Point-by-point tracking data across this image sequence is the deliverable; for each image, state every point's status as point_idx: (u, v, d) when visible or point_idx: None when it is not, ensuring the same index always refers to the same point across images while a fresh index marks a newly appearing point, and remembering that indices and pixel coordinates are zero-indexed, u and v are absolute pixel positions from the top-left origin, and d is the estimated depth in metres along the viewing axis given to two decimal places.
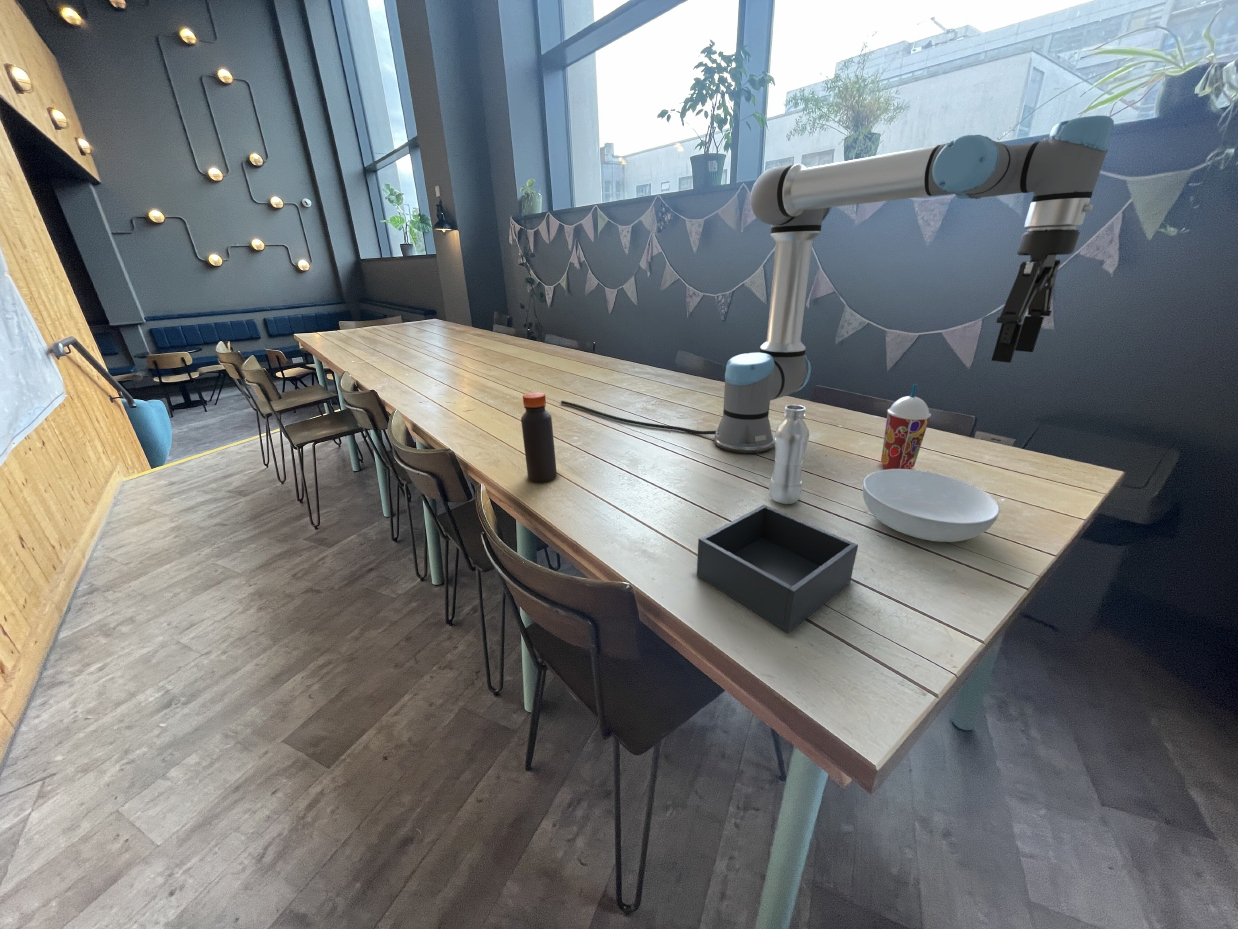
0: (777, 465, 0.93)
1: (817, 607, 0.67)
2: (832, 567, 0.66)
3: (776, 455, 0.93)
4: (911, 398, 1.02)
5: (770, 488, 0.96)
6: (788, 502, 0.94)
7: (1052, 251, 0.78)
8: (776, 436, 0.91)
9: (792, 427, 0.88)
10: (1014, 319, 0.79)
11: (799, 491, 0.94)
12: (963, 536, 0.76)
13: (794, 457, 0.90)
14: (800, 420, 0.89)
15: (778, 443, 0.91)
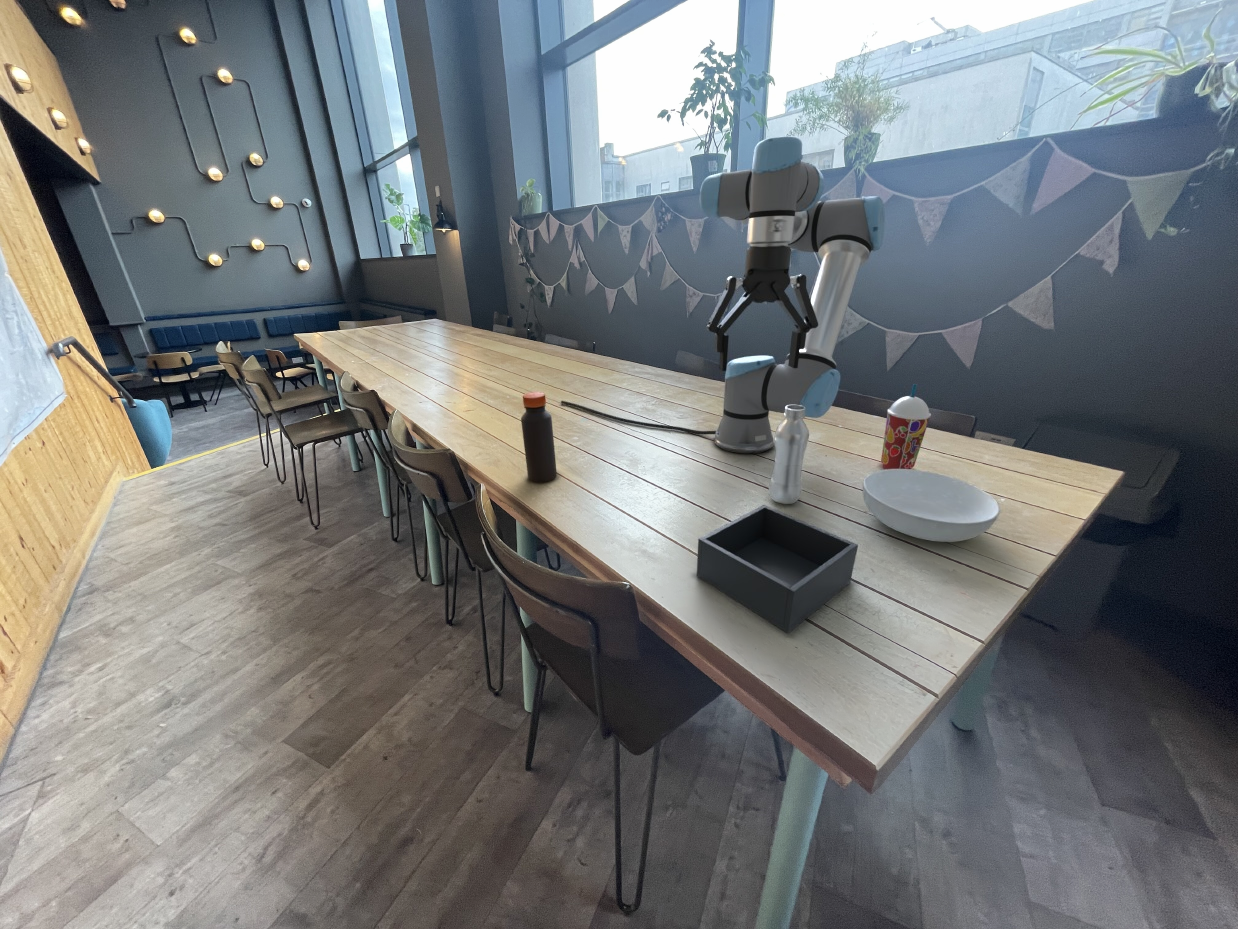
0: (777, 465, 0.93)
1: (817, 607, 0.67)
2: (832, 567, 0.66)
3: (776, 455, 0.93)
4: (911, 398, 1.02)
5: (770, 488, 0.96)
6: (788, 502, 0.94)
7: (751, 267, 0.81)
8: (776, 436, 0.91)
9: (792, 427, 0.88)
10: (708, 329, 0.85)
11: (799, 491, 0.94)
12: (963, 536, 0.76)
13: (794, 457, 0.90)
14: (800, 420, 0.89)
15: (778, 443, 0.91)
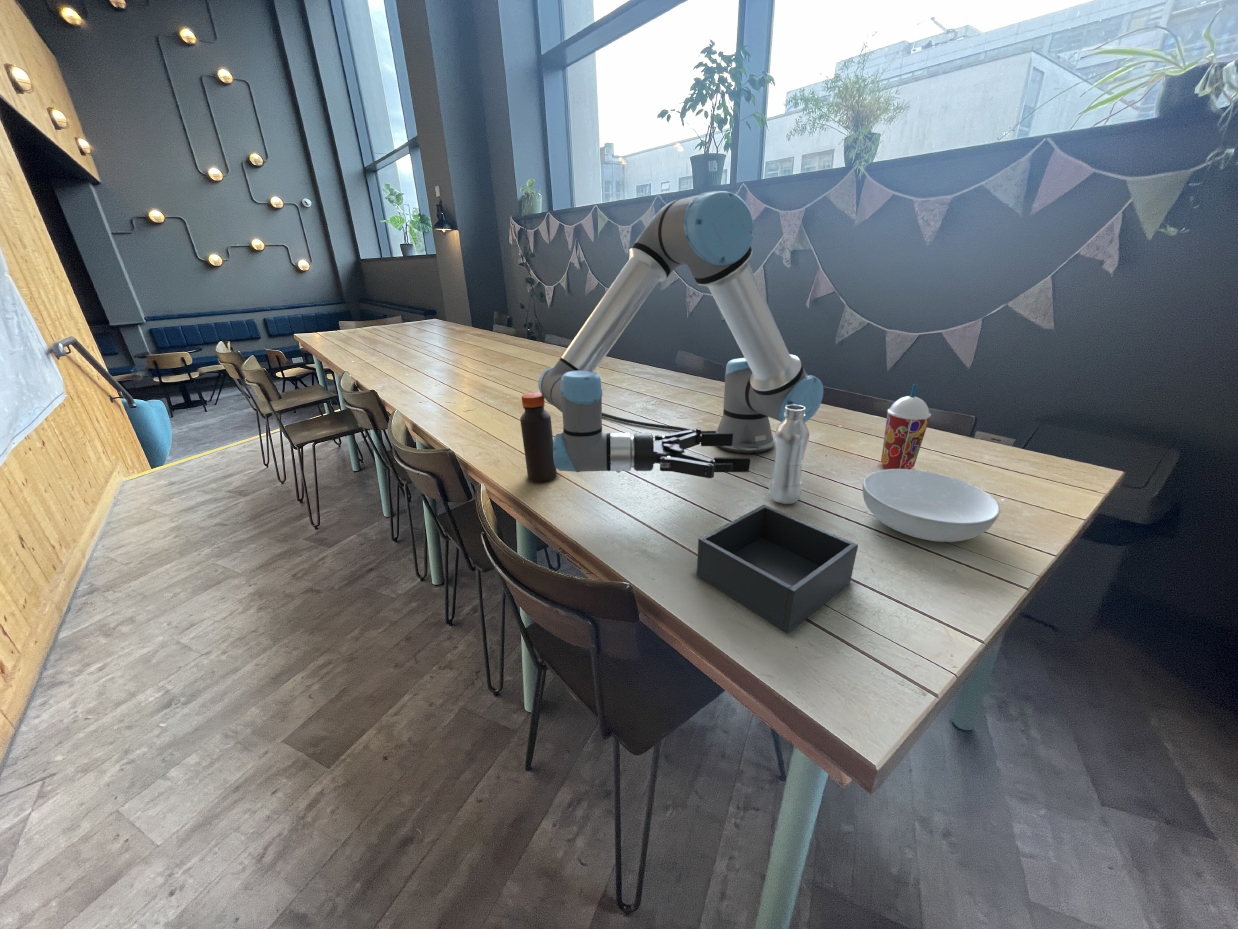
0: (777, 465, 0.93)
1: (817, 607, 0.67)
2: (832, 567, 0.66)
3: (776, 455, 0.93)
4: (911, 398, 1.02)
5: (770, 488, 0.96)
6: (788, 502, 0.94)
7: None
8: (776, 436, 0.91)
9: (792, 427, 0.88)
10: None
11: (799, 491, 0.94)
12: (963, 536, 0.76)
13: (794, 457, 0.90)
14: (800, 420, 0.89)
15: (778, 443, 0.91)
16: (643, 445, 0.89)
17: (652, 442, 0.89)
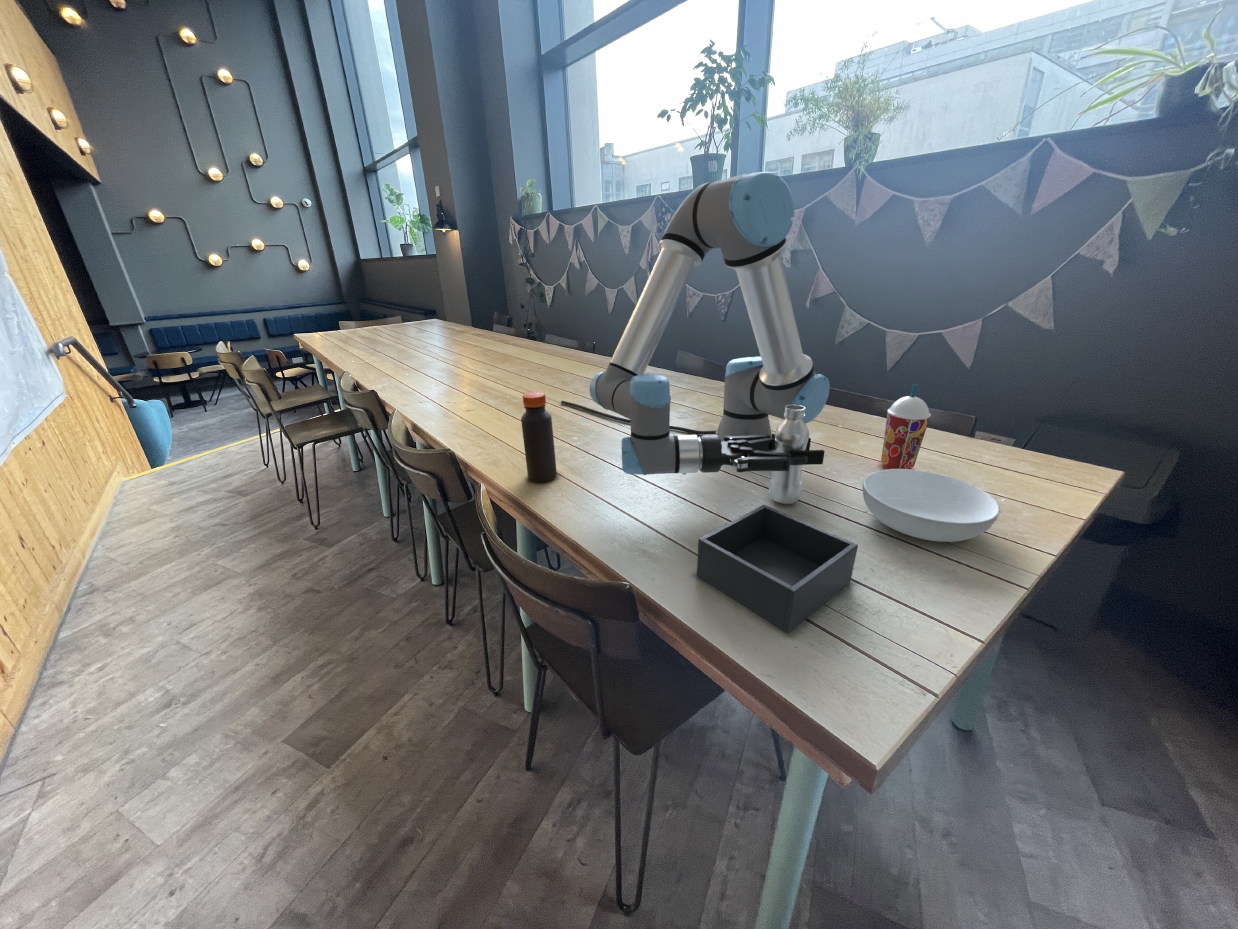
0: None
1: (817, 607, 0.67)
2: (832, 567, 0.66)
3: None
4: (911, 398, 1.02)
5: (770, 488, 0.96)
6: (788, 502, 0.94)
7: None
8: (776, 436, 0.91)
9: (792, 427, 0.89)
10: None
11: (799, 491, 0.94)
12: (963, 536, 0.76)
13: None
14: (800, 420, 0.89)
15: (778, 443, 0.91)
16: (711, 447, 0.89)
17: (720, 444, 0.90)
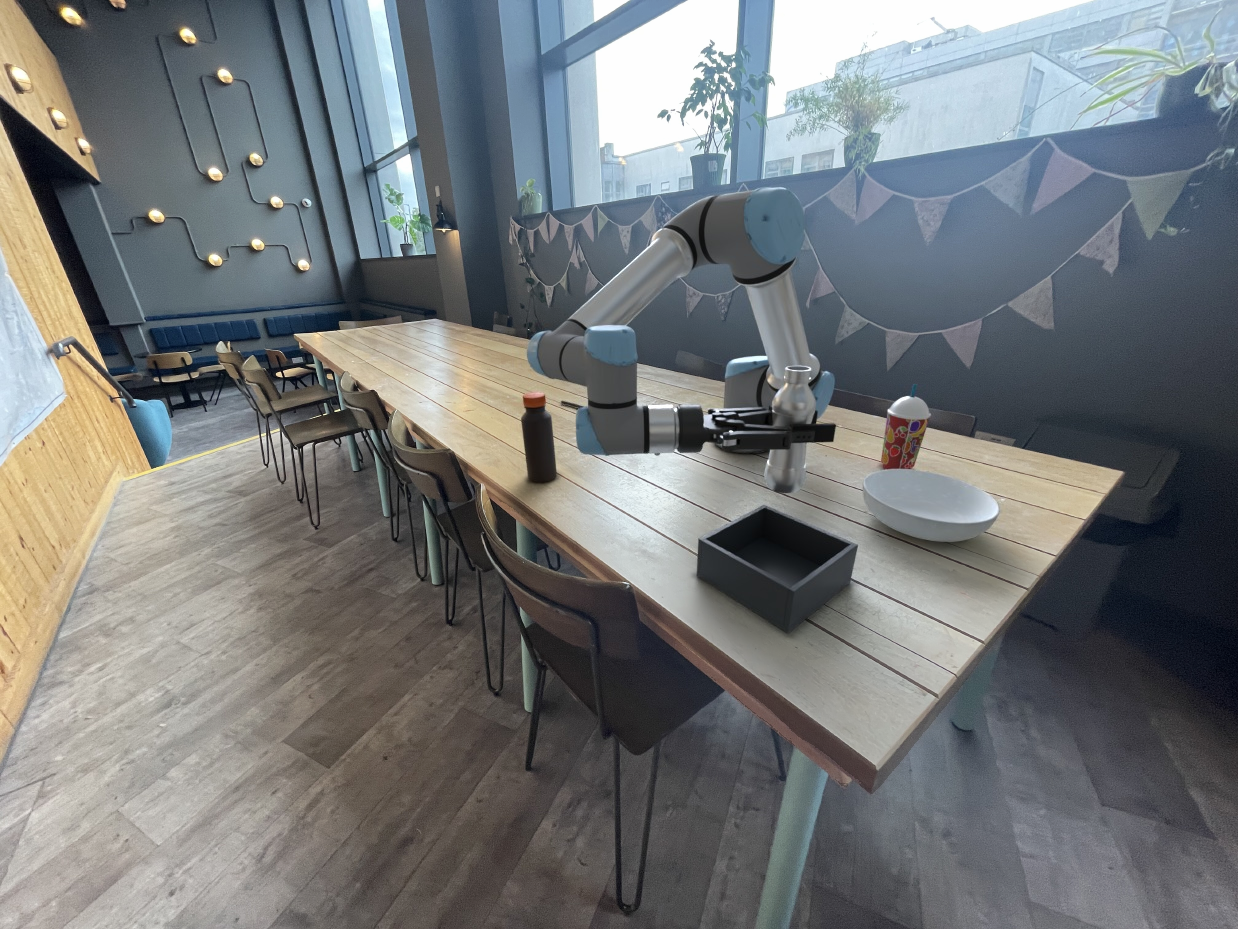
0: None
1: (817, 607, 0.67)
2: (832, 567, 0.66)
3: None
4: (911, 398, 1.02)
5: (766, 474, 0.76)
6: (789, 491, 0.74)
7: None
8: (774, 406, 0.71)
9: (794, 394, 0.69)
10: None
11: (803, 477, 0.74)
12: (963, 536, 0.76)
13: None
14: (804, 384, 0.69)
15: (776, 415, 0.71)
16: (690, 419, 0.69)
17: (702, 415, 0.70)
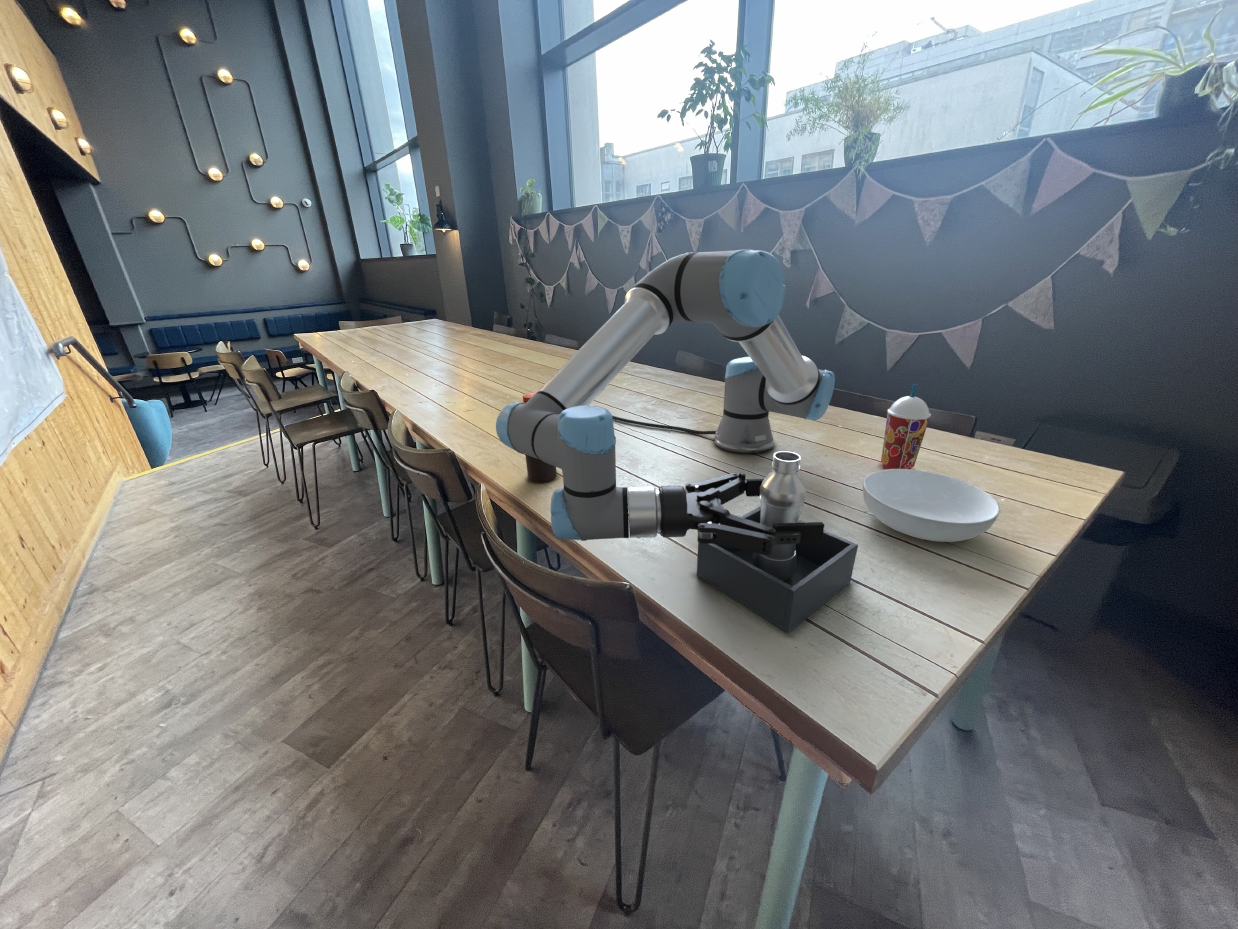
0: None
1: (817, 607, 0.67)
2: (832, 567, 0.66)
3: (761, 518, 0.69)
4: (911, 398, 1.02)
5: (754, 560, 0.72)
6: None
7: None
8: (761, 494, 0.67)
9: (782, 484, 0.65)
10: None
11: (792, 566, 0.70)
12: (963, 536, 0.76)
13: None
14: (794, 474, 0.65)
15: (764, 504, 0.67)
16: (672, 505, 0.65)
17: (685, 501, 0.66)
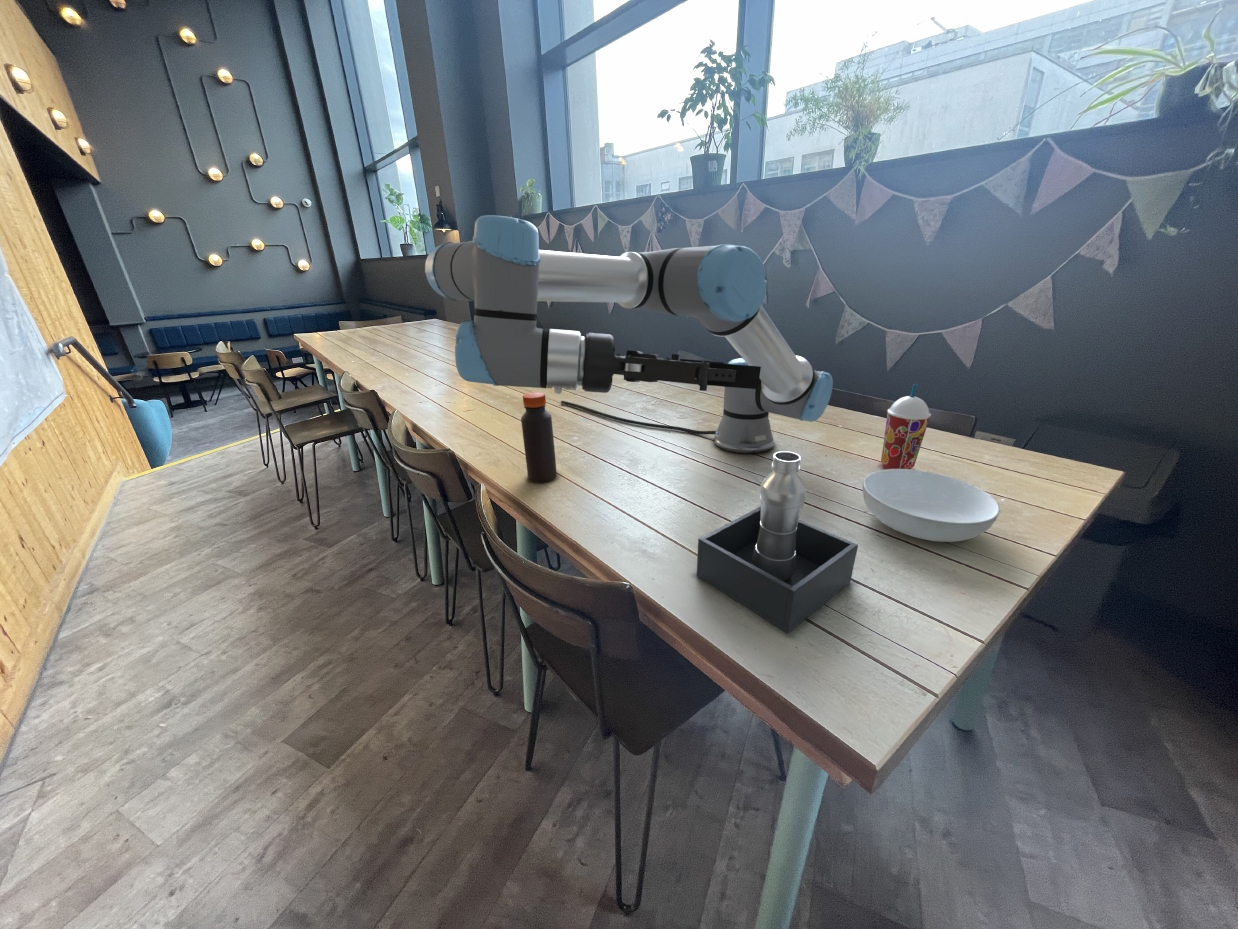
0: (763, 532, 0.69)
1: (817, 607, 0.67)
2: (832, 567, 0.66)
3: (761, 518, 0.69)
4: (911, 398, 1.02)
5: (754, 560, 0.72)
6: None
7: None
8: (761, 494, 0.67)
9: (782, 485, 0.64)
10: None
11: (792, 566, 0.70)
12: (963, 536, 0.76)
13: (785, 523, 0.66)
14: (794, 474, 0.65)
15: (764, 504, 0.67)
16: (598, 343, 0.58)
17: (613, 342, 0.59)
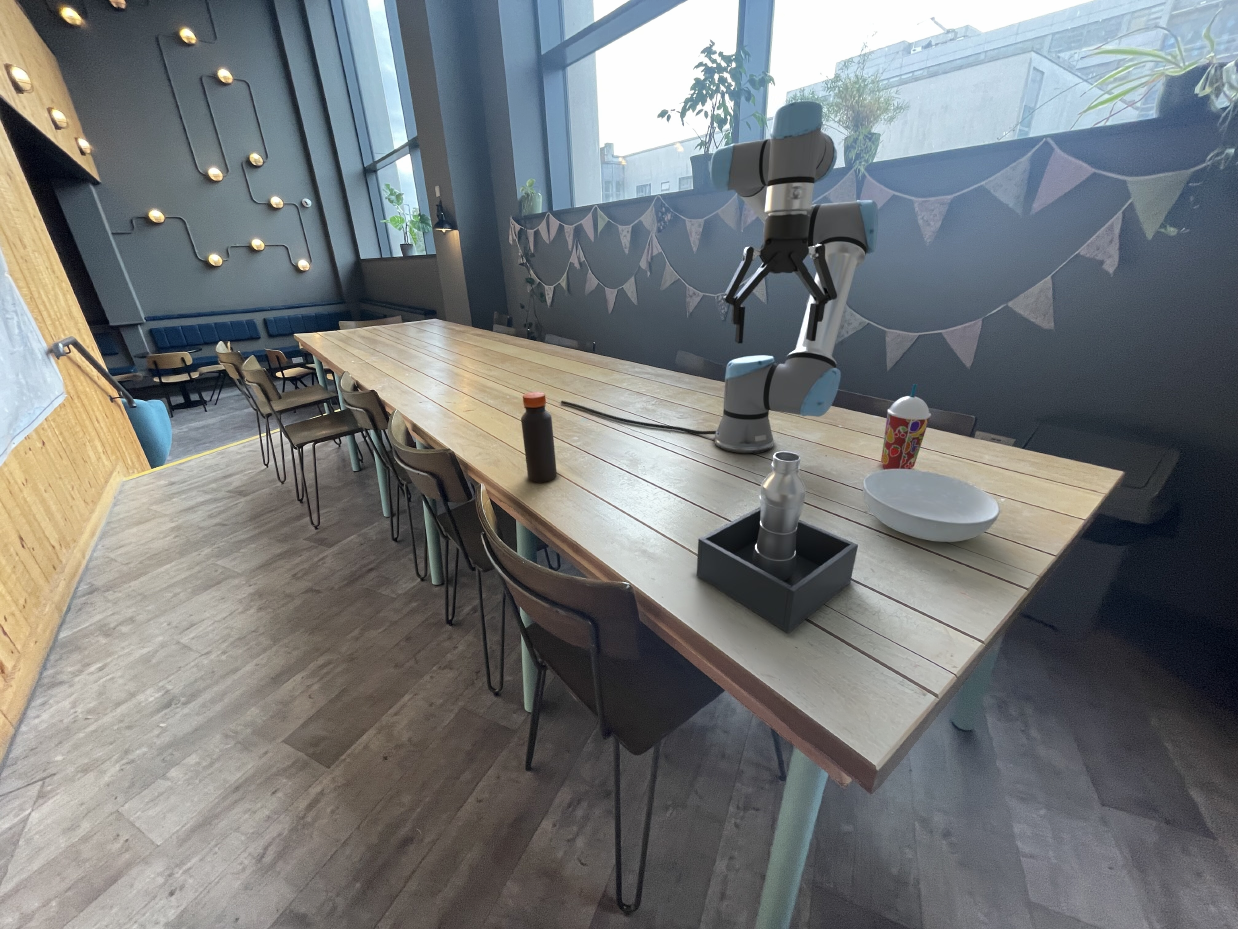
0: (763, 532, 0.69)
1: (817, 607, 0.67)
2: (832, 567, 0.66)
3: (761, 518, 0.69)
4: (911, 398, 1.02)
5: (754, 560, 0.72)
6: None
7: (769, 236, 0.80)
8: (761, 494, 0.67)
9: (782, 485, 0.64)
10: (725, 301, 0.85)
11: (792, 566, 0.70)
12: (963, 536, 0.76)
13: (785, 523, 0.66)
14: (794, 474, 0.65)
15: (764, 504, 0.67)
16: None
17: None
